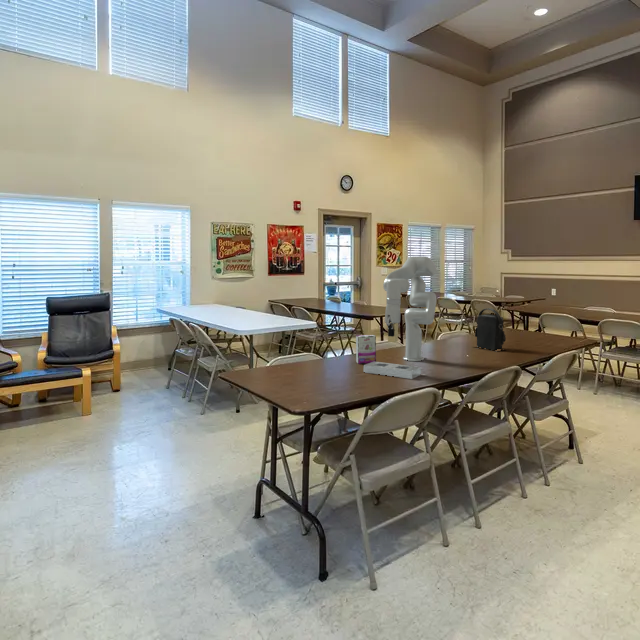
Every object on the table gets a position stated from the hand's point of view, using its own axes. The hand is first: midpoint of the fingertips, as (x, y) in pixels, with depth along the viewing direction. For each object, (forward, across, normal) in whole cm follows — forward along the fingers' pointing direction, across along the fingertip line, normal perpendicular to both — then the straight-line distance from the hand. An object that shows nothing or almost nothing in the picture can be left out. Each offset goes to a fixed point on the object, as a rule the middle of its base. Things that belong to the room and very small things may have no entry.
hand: (392, 335), depth 257 cm
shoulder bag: (+19, -97, +24) cm, 102 cm away
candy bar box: (+20, -11, -23) cm, 32 cm away
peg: (+3, 0, 0) cm, 3 cm away
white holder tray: (+20, +5, +2) cm, 21 cm away
